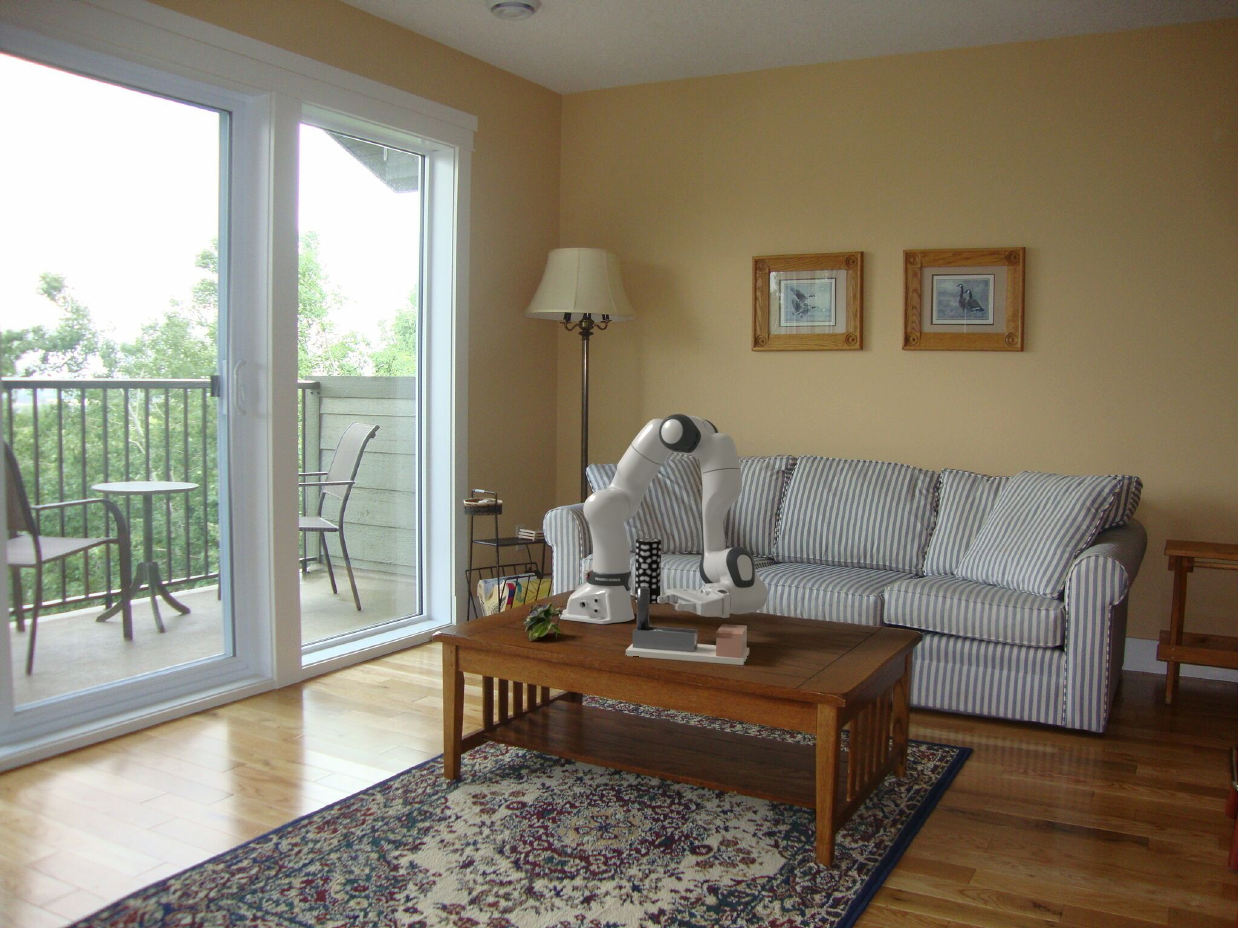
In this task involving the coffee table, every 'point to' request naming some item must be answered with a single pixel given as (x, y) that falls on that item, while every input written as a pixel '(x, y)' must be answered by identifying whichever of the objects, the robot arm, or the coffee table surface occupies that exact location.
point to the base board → (688, 654)
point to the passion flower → (542, 620)
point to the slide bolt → (646, 610)
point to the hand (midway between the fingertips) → (667, 603)
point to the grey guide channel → (665, 639)
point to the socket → (731, 640)
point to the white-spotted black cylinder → (648, 567)
